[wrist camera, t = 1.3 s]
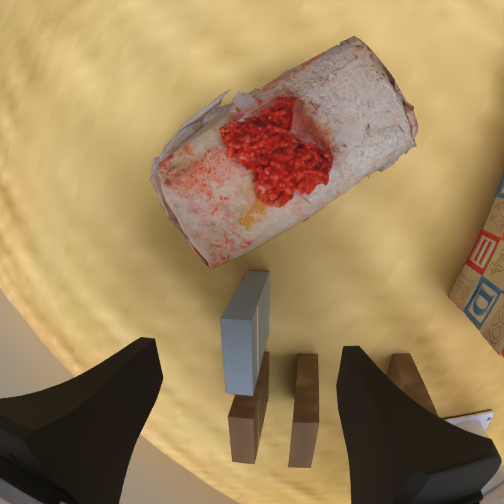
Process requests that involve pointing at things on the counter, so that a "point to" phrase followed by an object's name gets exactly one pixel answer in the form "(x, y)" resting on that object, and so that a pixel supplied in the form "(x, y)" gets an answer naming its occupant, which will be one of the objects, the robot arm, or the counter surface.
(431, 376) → the counter surface
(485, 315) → the stack of blocks
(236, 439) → the domino
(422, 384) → the domino
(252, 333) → the placed domino
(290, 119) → the food item
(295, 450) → the domino
